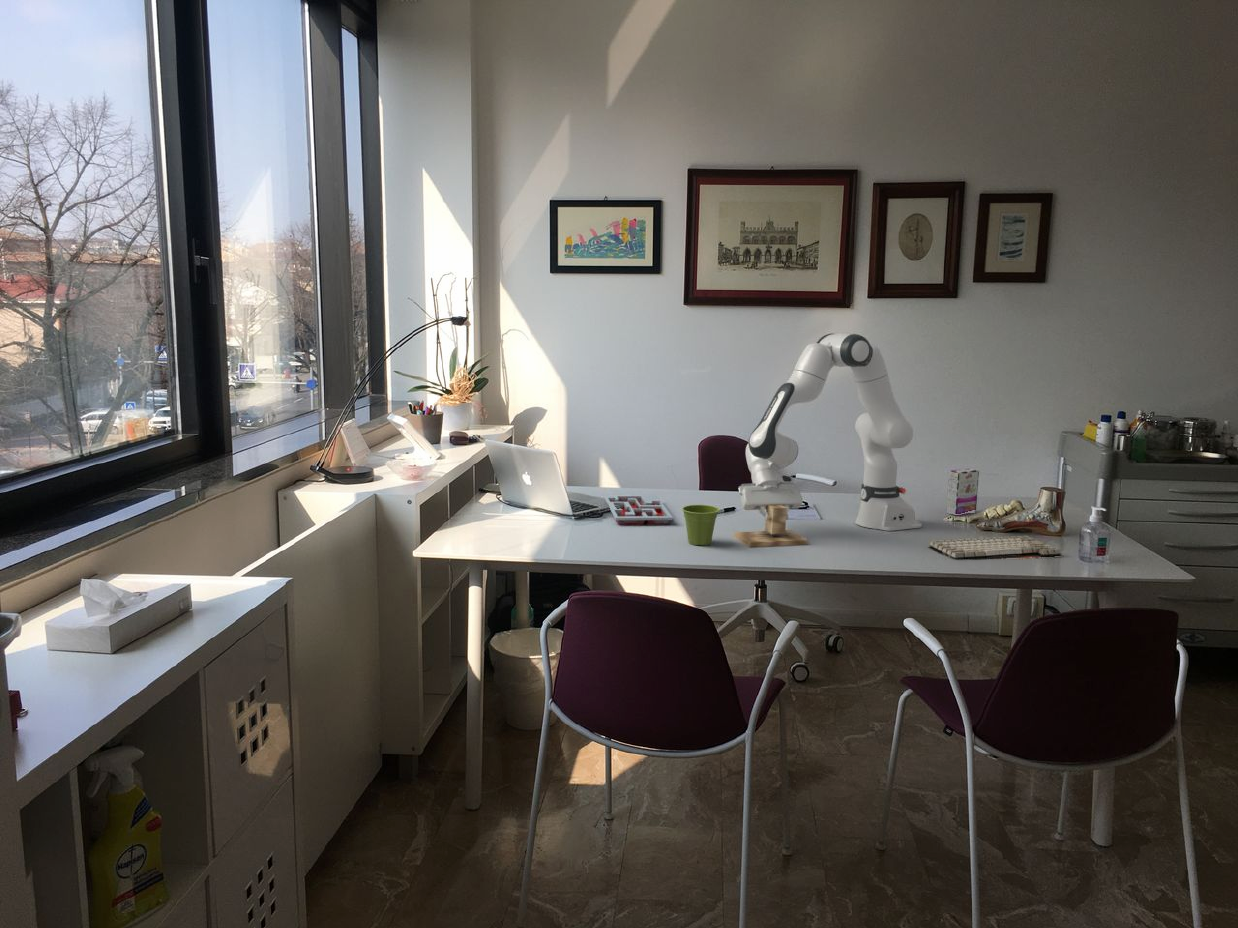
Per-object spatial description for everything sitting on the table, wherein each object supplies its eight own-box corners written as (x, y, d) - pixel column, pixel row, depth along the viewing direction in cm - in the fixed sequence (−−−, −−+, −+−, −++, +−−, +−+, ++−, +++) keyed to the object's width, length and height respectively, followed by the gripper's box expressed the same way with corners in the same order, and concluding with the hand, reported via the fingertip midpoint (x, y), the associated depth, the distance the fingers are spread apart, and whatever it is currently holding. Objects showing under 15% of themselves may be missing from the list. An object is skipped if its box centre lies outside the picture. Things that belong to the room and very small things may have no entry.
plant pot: (689, 536, 316) (690, 502, 314) (723, 541, 311) (725, 507, 308) (674, 544, 306) (675, 509, 303) (709, 550, 300) (710, 514, 298)
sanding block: (778, 530, 317) (779, 504, 315) (784, 535, 312) (786, 507, 310) (765, 531, 316) (766, 504, 314) (771, 535, 310) (773, 508, 309)
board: (790, 534, 322) (790, 529, 322) (807, 544, 310) (807, 539, 309) (734, 536, 317) (734, 532, 317) (749, 547, 304) (749, 542, 304)
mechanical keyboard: (959, 564, 293) (960, 553, 293) (924, 548, 311) (924, 538, 311) (1065, 559, 303) (1066, 548, 303) (1024, 543, 321) (1025, 533, 321)
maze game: (672, 526, 330) (673, 517, 329) (615, 527, 327) (615, 517, 327) (656, 503, 364) (656, 495, 363) (604, 503, 361) (604, 495, 361)
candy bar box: (965, 510, 364) (969, 467, 361) (976, 513, 360) (980, 470, 357) (944, 513, 358) (948, 469, 355) (955, 516, 354) (959, 472, 351)
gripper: (740, 478, 314) (750, 515, 307) (798, 477, 319) (809, 513, 312) (734, 489, 319) (743, 525, 312) (791, 487, 324) (802, 523, 317)
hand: (777, 519), depth 312 cm, fingers closed on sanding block, 5 cm apart
